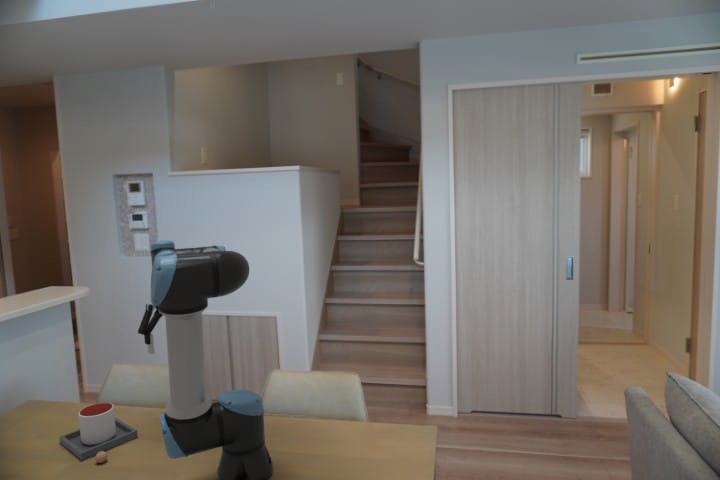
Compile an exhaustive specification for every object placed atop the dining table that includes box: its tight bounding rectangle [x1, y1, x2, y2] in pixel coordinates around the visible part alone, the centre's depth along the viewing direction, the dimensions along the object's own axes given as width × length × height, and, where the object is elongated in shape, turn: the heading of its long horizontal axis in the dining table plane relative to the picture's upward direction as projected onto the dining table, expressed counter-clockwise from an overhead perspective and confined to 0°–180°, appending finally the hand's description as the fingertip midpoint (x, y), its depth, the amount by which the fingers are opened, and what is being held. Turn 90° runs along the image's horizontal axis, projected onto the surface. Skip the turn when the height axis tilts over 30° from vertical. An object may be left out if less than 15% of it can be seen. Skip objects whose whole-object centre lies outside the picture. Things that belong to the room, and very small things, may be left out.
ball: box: [94, 451, 108, 464], centre depth 143 cm, size 3×3×3 cm
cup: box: [78, 402, 116, 445], centre depth 156 cm, size 10×10×10 cm
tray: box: [58, 417, 138, 462], centre depth 156 cm, size 17×17×2 cm
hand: (170, 347), depth 165 cm, fingers open, 13 cm apart
